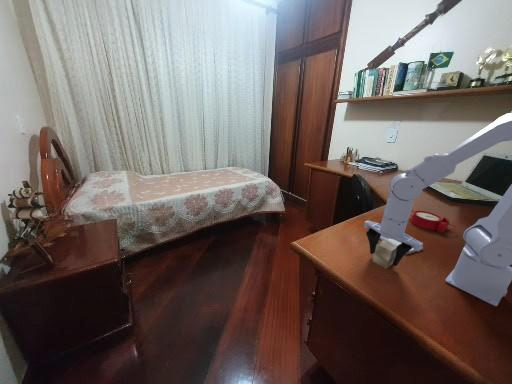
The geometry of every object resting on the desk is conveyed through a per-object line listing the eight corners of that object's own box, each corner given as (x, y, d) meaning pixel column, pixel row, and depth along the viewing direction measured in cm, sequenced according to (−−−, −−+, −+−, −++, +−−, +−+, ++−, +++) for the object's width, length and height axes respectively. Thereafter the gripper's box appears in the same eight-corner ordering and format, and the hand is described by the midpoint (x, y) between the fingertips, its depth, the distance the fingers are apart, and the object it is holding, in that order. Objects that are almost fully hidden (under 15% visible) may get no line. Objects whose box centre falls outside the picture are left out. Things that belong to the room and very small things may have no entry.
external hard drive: (405, 256, 66) (372, 235, 77) (422, 251, 69) (388, 232, 80) (406, 251, 65) (373, 232, 76) (423, 246, 68) (389, 228, 79)
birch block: (392, 263, 61) (398, 246, 59) (386, 268, 59) (391, 251, 57) (379, 256, 64) (383, 240, 62) (372, 261, 62) (376, 244, 60)
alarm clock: (412, 208, 92) (459, 212, 81) (412, 221, 93) (458, 227, 82) (405, 214, 85) (455, 220, 74) (405, 228, 87) (454, 236, 75)
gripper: (362, 210, 60) (353, 250, 65) (420, 233, 49) (405, 278, 53) (374, 205, 64) (365, 243, 68) (431, 225, 53) (416, 268, 57)
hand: (383, 258), depth 61 cm, fingers open, 6 cm apart
